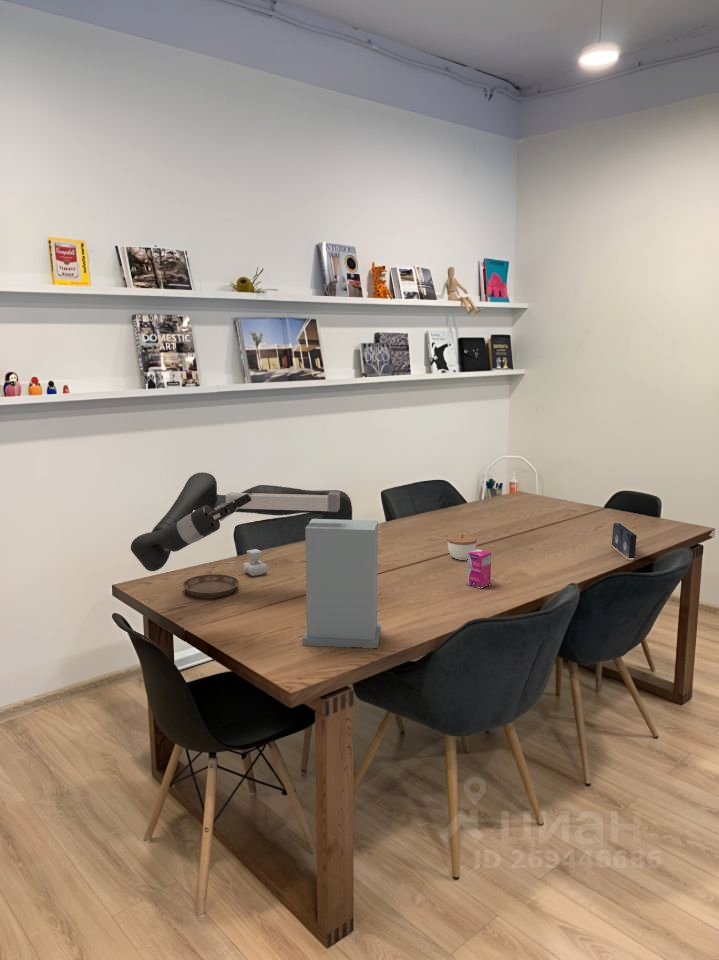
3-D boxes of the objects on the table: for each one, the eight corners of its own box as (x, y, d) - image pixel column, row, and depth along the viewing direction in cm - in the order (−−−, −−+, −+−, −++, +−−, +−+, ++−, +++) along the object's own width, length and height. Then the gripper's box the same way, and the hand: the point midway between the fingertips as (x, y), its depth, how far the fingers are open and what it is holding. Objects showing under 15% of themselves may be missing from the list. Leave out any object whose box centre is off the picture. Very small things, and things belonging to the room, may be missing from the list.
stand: (302, 645, 198) (300, 528, 192) (310, 627, 210) (309, 517, 204) (377, 648, 196) (377, 531, 190) (380, 631, 208) (381, 519, 202)
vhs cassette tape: (635, 561, 273) (636, 535, 272) (626, 561, 273) (628, 535, 272) (618, 547, 291) (620, 522, 290) (611, 547, 291) (612, 522, 290)
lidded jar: (475, 554, 281) (475, 530, 279) (476, 563, 271) (477, 538, 269) (446, 553, 282) (447, 529, 280) (447, 562, 272) (447, 537, 270)
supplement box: (466, 585, 246) (467, 552, 244) (476, 581, 250) (477, 548, 248) (480, 589, 242) (481, 555, 240) (491, 585, 246) (492, 552, 244)
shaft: (225, 508, 197) (224, 491, 196) (230, 504, 202) (229, 488, 201) (337, 511, 194) (337, 495, 193) (339, 507, 198) (339, 491, 197)
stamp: (247, 579, 252) (247, 555, 251) (239, 574, 258) (238, 550, 256) (271, 574, 257) (270, 551, 255) (262, 569, 262) (262, 546, 261)
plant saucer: (250, 588, 243) (250, 579, 243) (212, 604, 229) (212, 595, 228) (210, 579, 252) (209, 570, 252) (171, 594, 238) (171, 585, 237)
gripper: (182, 519, 194) (237, 488, 191) (199, 507, 208) (251, 478, 205) (197, 543, 195) (251, 513, 192) (213, 530, 209) (264, 501, 205)
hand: (251, 495), depth 198 cm, fingers closed on shaft, 3 cm apart
